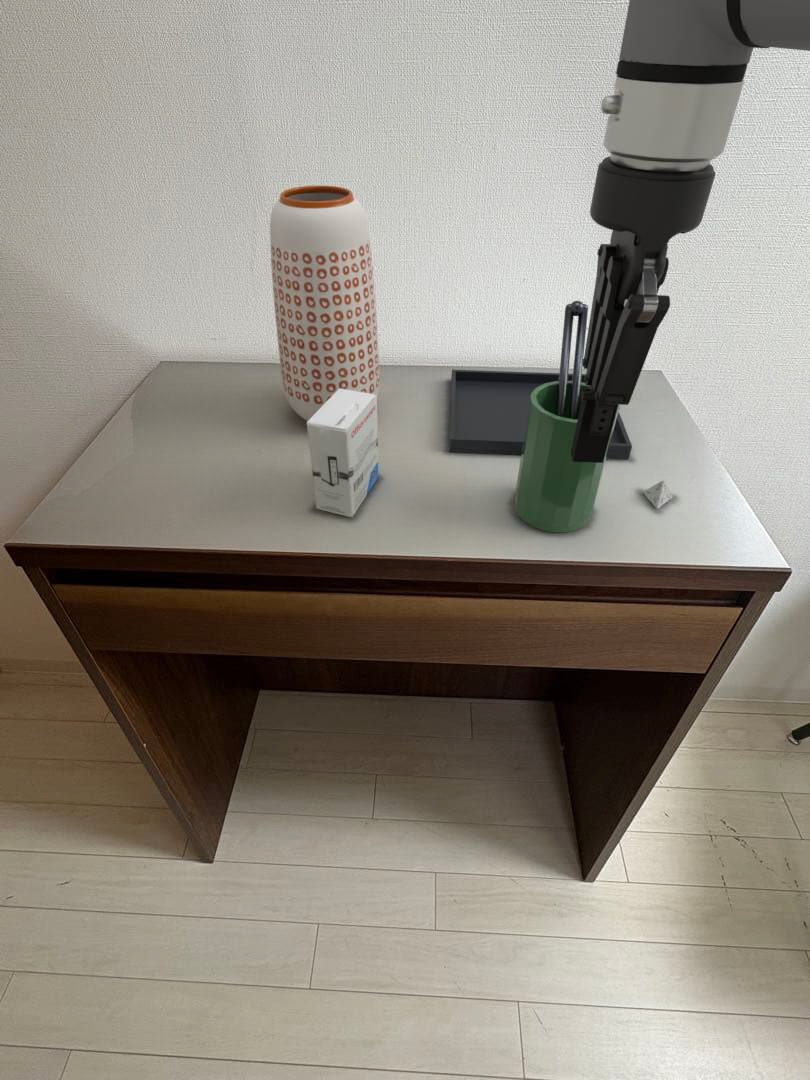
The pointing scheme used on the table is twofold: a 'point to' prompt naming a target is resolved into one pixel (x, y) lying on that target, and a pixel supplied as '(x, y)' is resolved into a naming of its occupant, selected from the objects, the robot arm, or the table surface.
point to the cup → (554, 467)
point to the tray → (504, 412)
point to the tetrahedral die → (658, 494)
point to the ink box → (344, 450)
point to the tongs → (570, 311)
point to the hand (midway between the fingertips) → (586, 457)
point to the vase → (323, 296)
